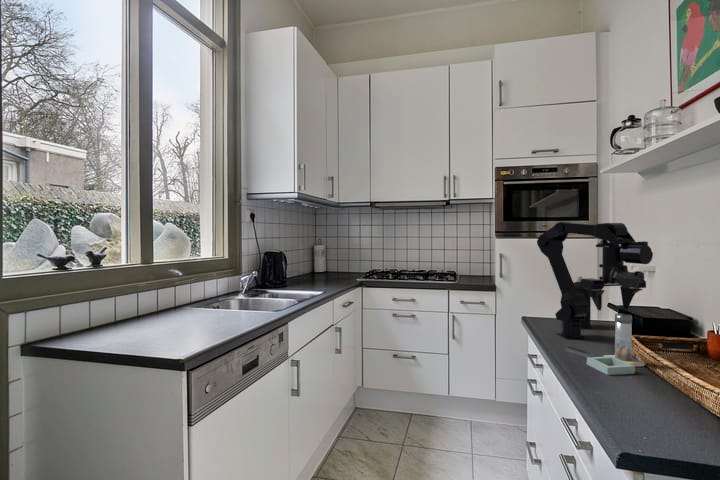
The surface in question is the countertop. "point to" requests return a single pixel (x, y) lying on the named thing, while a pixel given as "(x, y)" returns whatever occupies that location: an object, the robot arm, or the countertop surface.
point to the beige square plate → (632, 361)
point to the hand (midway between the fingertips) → (612, 309)
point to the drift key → (579, 352)
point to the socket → (617, 367)
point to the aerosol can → (586, 323)
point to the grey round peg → (623, 336)
